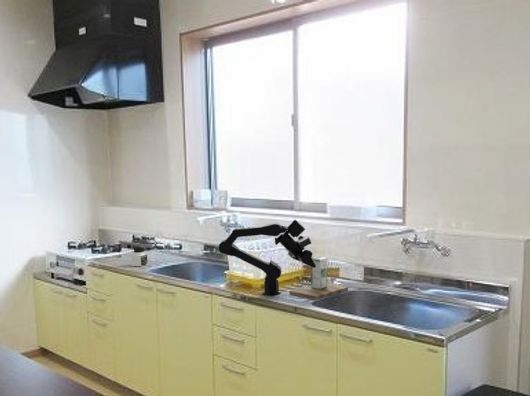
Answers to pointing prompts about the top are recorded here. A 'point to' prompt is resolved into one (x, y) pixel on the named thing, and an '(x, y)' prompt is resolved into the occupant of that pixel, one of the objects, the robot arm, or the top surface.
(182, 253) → the top surface
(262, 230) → the robot arm
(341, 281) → the top surface
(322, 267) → the syrup box
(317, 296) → the walnut board
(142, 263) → the medicine bottle
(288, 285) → the top surface
